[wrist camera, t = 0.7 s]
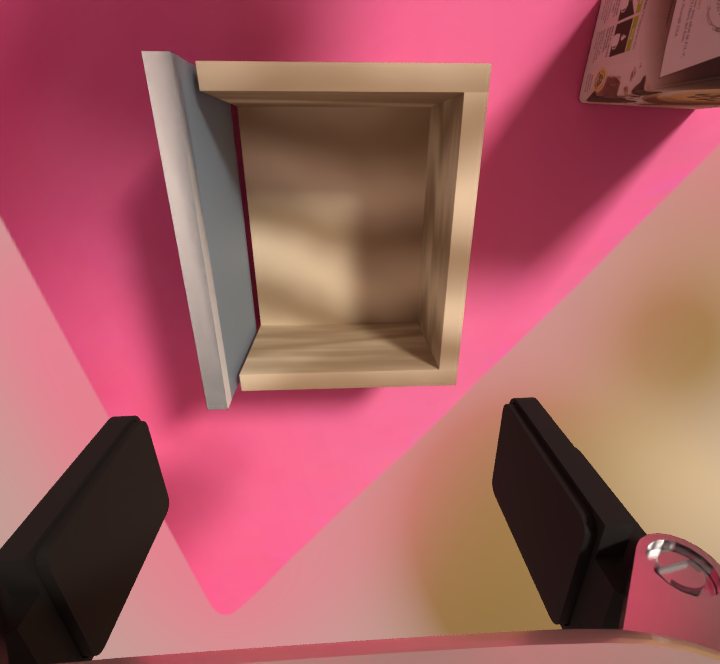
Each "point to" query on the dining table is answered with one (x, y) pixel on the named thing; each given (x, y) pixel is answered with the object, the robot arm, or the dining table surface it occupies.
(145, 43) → the dining table surface
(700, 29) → the coffee box
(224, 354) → the panel
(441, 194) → the crate
